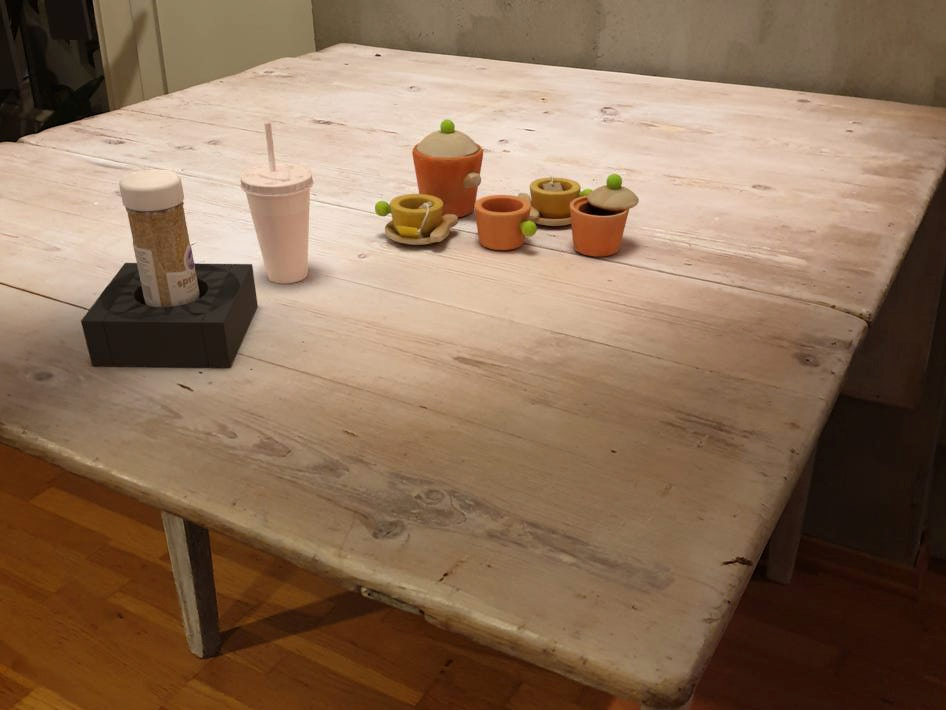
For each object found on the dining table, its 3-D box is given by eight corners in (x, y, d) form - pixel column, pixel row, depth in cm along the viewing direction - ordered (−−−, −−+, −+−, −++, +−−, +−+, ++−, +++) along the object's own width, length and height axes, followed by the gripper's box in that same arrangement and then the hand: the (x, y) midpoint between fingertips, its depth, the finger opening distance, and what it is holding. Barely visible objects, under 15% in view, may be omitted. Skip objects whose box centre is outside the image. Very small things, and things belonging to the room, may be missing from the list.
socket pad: (91, 366, 77) (80, 320, 74) (133, 304, 86) (124, 262, 83) (230, 367, 76) (223, 322, 74) (258, 305, 86) (252, 263, 83)
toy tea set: (367, 248, 96) (362, 151, 91) (403, 194, 109) (400, 107, 103) (631, 268, 93) (642, 169, 87) (637, 210, 105) (646, 121, 100)
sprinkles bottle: (208, 343, 80) (180, 184, 72) (150, 350, 79) (116, 189, 71) (205, 319, 83) (179, 165, 76) (150, 325, 82) (118, 169, 75)
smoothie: (302, 256, 95) (287, 109, 87) (334, 278, 90) (321, 127, 82) (241, 271, 91) (220, 121, 83) (271, 296, 87) (252, 140, 79)
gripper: (-83, -364, 44) (27, 115, 56) (91, -318, 64) (144, 24, 76) (-253, -371, 43) (-106, 111, 56) (-23, -323, 64) (48, 21, 76)
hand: (39, 61), depth 66 cm, fingers open, 13 cm apart
